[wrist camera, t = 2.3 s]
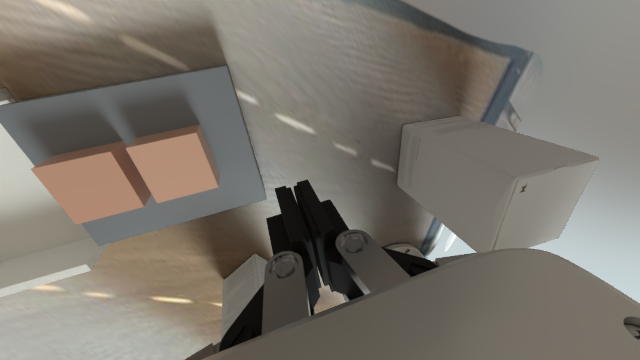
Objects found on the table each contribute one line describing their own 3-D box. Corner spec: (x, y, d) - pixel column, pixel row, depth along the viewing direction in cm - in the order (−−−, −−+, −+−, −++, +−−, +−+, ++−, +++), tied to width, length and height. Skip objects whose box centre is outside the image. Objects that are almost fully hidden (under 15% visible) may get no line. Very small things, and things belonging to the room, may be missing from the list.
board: (227, 64, 23) (226, 66, 20) (263, 185, 29) (266, 199, 26) (20, 100, 20) (-12, 108, 17) (112, 226, 26) (98, 246, 24)
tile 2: (123, 140, 20) (110, 151, 18) (152, 192, 23) (144, 206, 21) (52, 155, 19) (30, 169, 17) (91, 207, 22) (75, 224, 20)
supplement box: (394, 186, 35) (485, 265, 22) (401, 123, 31) (518, 177, 18) (449, 175, 37) (560, 241, 24) (462, 114, 33) (606, 156, 20)
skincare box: (246, 291, 36) (250, 388, 26) (222, 279, 34) (217, 380, 23) (277, 265, 35) (295, 353, 25) (255, 251, 33) (264, 341, 23)
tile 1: (200, 124, 21) (196, 132, 19) (220, 174, 24) (218, 187, 22) (136, 137, 20) (125, 148, 18) (164, 189, 23) (157, 203, 21)
